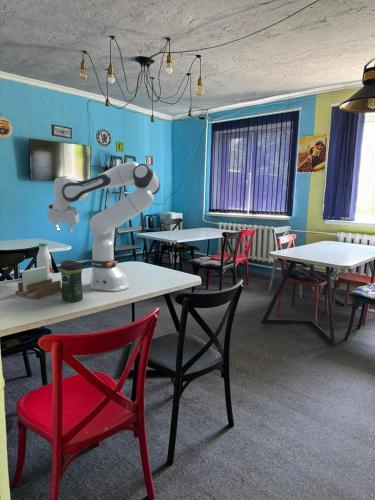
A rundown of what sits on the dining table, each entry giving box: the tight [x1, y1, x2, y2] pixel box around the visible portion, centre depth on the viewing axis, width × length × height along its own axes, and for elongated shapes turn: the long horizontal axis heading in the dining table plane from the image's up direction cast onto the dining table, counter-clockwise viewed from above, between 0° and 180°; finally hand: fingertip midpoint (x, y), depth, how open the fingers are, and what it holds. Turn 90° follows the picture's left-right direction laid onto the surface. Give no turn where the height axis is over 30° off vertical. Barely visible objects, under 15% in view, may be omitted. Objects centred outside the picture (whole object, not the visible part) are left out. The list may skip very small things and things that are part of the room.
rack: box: [14, 278, 62, 301], centre depth 170 cm, size 15×16×6 cm
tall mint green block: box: [21, 267, 48, 292], centre depth 171 cm, size 3×12×10 cm, turn 152°
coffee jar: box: [60, 260, 84, 303], centre depth 160 cm, size 10×8×19 cm
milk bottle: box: [36, 242, 53, 279], centre depth 197 cm, size 8×8×20 cm
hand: (64, 230), depth 193 cm, fingers open, 8 cm apart
